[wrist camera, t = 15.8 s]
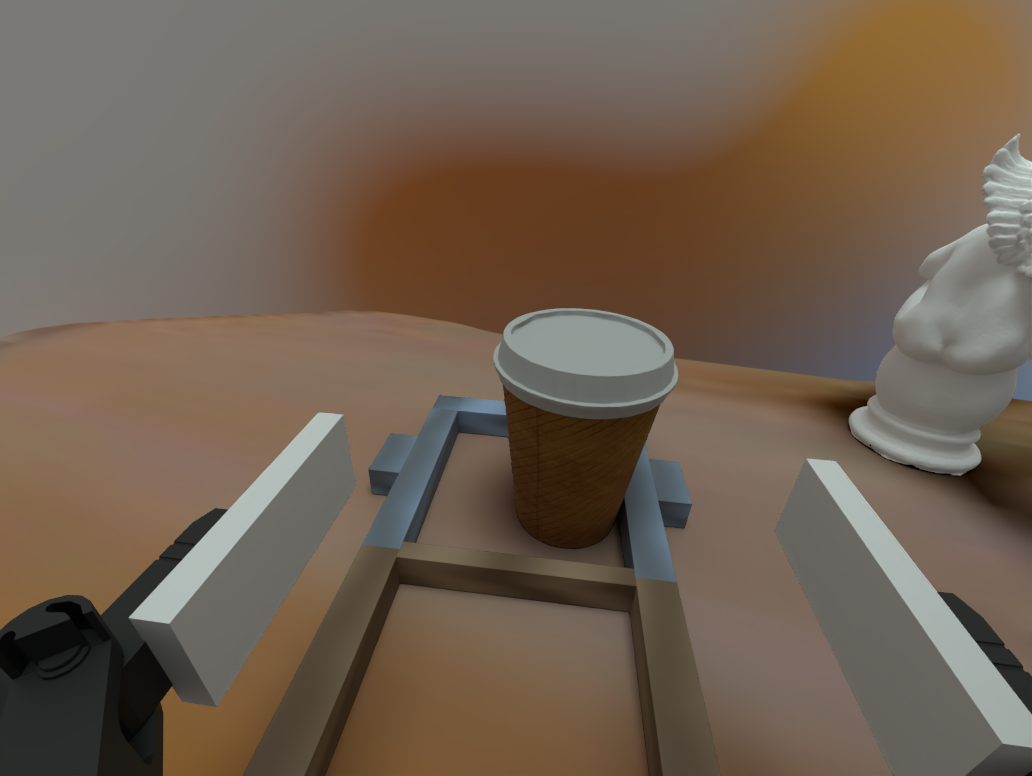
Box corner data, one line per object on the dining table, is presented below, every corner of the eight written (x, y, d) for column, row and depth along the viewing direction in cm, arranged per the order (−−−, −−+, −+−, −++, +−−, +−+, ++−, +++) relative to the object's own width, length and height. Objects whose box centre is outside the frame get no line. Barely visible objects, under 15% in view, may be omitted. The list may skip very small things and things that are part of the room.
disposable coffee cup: (583, 449, 35) (605, 298, 29) (673, 537, 27) (727, 359, 22) (467, 484, 31) (465, 317, 25) (536, 598, 23) (556, 400, 18)
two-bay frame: (658, 436, 37) (663, 416, 36) (894, 1277, 10) (941, 1287, 9) (416, 413, 38) (415, 393, 37) (40, 1082, 11) (-1, 1071, 10)
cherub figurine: (909, 410, 42) (1062, 143, 32) (1077, 504, 32) (1389, 151, 21) (800, 419, 40) (925, 131, 29) (943, 524, 29) (1222, 134, 19)
